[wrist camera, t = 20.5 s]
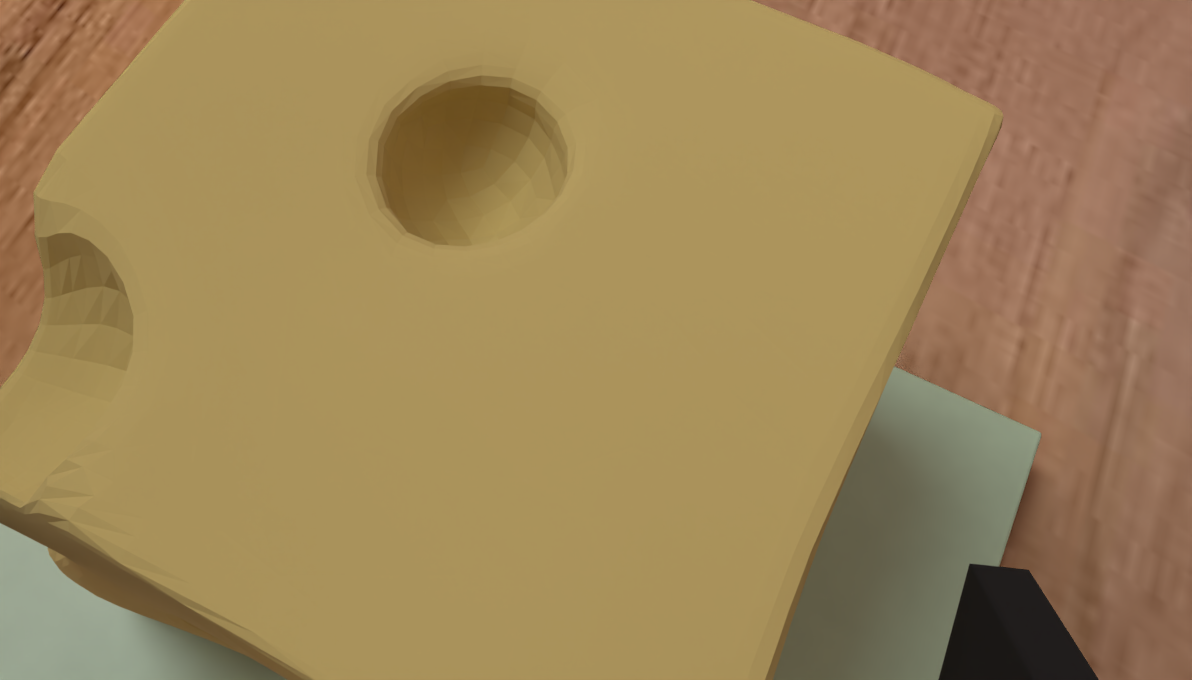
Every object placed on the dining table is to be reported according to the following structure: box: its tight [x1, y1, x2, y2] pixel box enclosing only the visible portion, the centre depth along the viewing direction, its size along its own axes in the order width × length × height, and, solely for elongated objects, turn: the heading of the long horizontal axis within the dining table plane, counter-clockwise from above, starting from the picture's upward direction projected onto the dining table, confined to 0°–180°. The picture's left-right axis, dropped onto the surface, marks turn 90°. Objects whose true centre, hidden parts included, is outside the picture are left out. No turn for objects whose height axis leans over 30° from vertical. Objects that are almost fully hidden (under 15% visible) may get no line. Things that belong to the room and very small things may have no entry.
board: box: [0, 366, 1041, 680], centre depth 21 cm, size 18×14×2 cm
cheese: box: [0, 0, 1003, 680], centre depth 17 cm, size 10×11×10 cm
